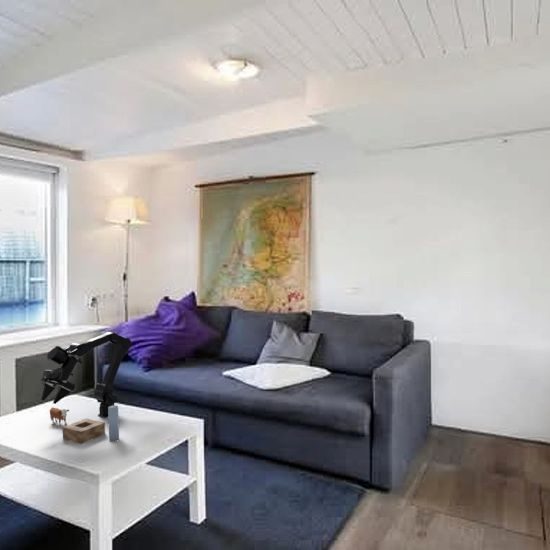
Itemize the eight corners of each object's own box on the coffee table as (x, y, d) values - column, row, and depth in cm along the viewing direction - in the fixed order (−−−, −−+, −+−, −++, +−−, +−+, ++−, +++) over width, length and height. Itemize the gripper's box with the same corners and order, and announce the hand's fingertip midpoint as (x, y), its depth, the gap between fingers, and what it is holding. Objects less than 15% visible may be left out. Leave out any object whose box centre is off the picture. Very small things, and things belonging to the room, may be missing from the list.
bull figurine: (62, 428, 208) (62, 411, 208) (48, 422, 216) (47, 405, 216) (71, 425, 212) (71, 408, 211) (57, 420, 220) (56, 403, 219)
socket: (86, 429, 207) (86, 418, 206) (105, 433, 201) (104, 422, 201) (62, 438, 196) (62, 427, 196) (81, 443, 190) (81, 431, 190)
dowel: (114, 437, 197) (113, 405, 196) (121, 438, 195) (120, 406, 194) (107, 440, 193) (106, 407, 193) (113, 442, 191) (112, 409, 191)
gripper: (40, 359, 208) (21, 391, 200) (64, 363, 197) (44, 398, 190) (60, 369, 215) (42, 401, 208) (84, 374, 205) (65, 407, 198)
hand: (48, 401), depth 201 cm, fingers open, 9 cm apart
